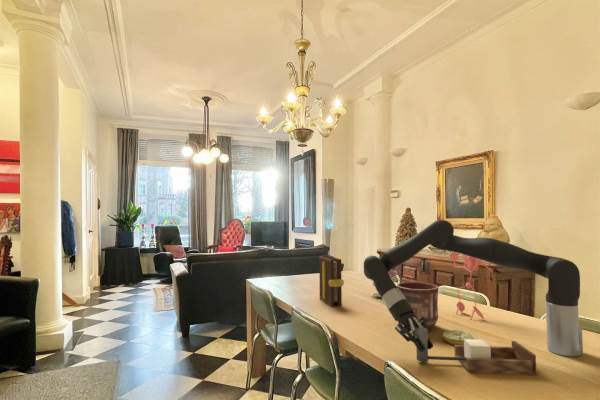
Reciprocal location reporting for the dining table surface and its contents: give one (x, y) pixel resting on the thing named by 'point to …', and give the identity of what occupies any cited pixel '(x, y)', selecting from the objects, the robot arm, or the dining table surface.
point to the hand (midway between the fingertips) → (427, 349)
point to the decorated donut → (456, 337)
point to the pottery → (422, 300)
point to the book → (330, 280)
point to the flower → (392, 276)
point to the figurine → (470, 262)
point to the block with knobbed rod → (470, 351)
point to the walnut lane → (501, 360)
